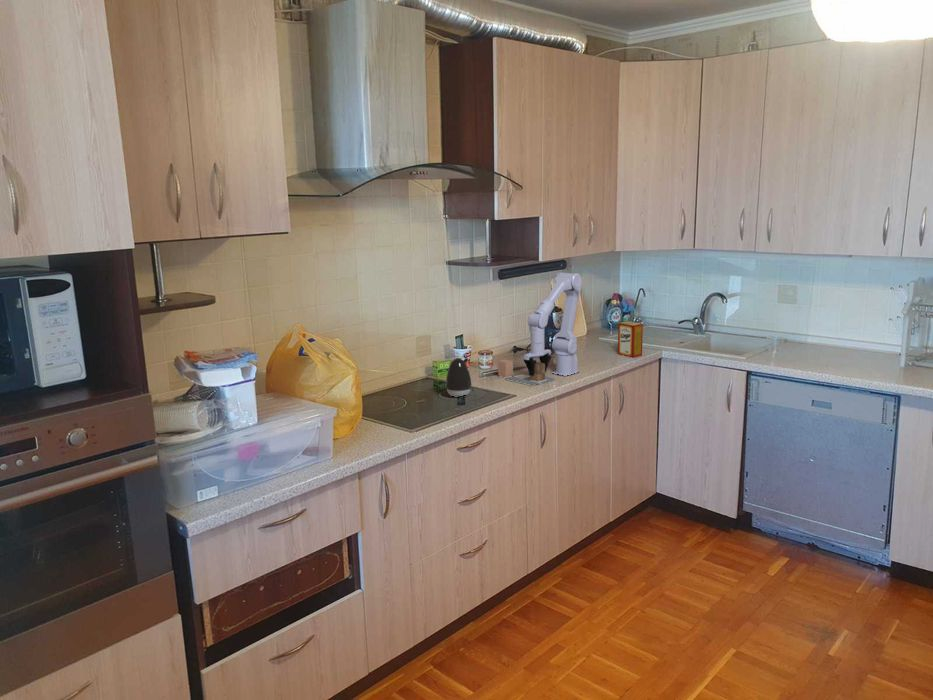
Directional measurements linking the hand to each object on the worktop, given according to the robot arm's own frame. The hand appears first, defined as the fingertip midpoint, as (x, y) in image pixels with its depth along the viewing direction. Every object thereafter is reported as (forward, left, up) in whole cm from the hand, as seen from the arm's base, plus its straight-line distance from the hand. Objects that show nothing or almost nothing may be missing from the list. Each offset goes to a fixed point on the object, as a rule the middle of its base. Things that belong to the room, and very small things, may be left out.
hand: (537, 373), depth 298 cm
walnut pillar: (0, 0, -3) cm, 3 cm away
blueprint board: (0, -4, -3) cm, 6 cm away
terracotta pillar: (+3, -16, -3) cm, 17 cm away
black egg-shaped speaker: (+37, -8, -4) cm, 38 cm away
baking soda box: (-67, 0, -4) cm, 67 cm away
